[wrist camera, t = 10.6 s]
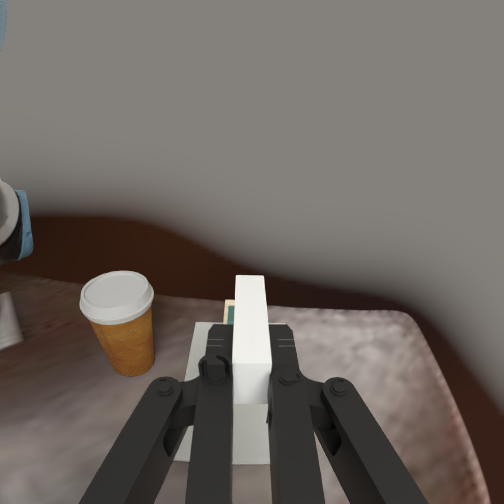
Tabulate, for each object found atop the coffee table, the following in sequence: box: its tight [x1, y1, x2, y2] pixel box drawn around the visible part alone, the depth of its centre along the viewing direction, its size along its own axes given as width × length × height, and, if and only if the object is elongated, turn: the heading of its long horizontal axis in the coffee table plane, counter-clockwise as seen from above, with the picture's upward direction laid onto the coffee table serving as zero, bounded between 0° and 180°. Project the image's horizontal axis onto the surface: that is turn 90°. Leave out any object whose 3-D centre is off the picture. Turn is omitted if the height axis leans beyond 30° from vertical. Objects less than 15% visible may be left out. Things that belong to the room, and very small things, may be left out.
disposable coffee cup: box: [80, 271, 155, 376], centre depth 36 cm, size 10×10×12 cm
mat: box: [174, 322, 286, 464], centre depth 37 cm, size 24×14×1 cm, turn 1°
